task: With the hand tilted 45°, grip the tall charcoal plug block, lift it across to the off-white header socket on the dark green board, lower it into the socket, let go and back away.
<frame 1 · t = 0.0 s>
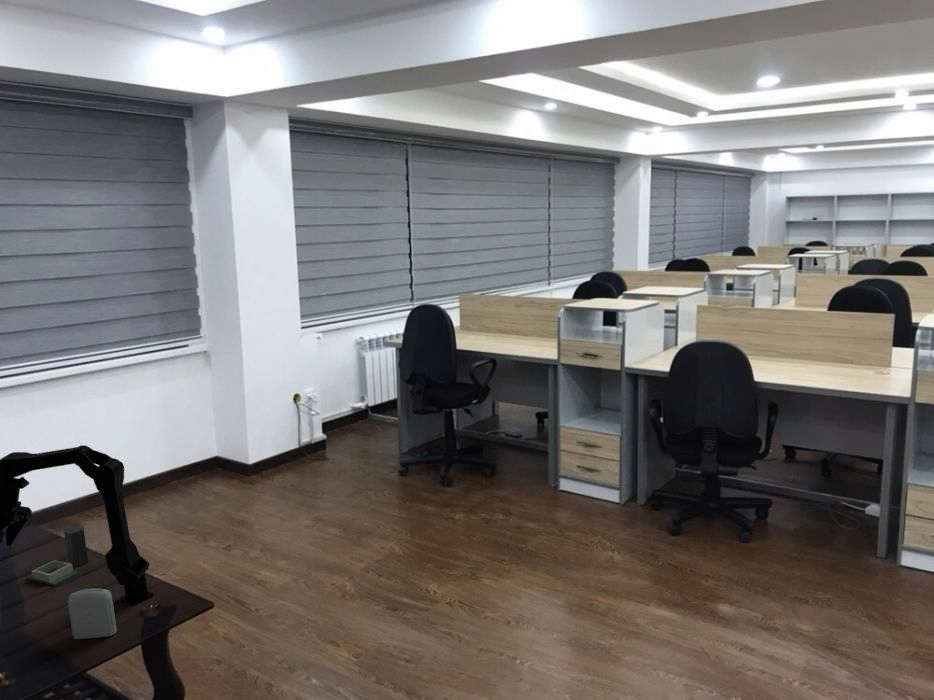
plug: (78, 563, 227), on the table
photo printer: (95, 635, 188), on the table
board: (53, 576, 220), on the table
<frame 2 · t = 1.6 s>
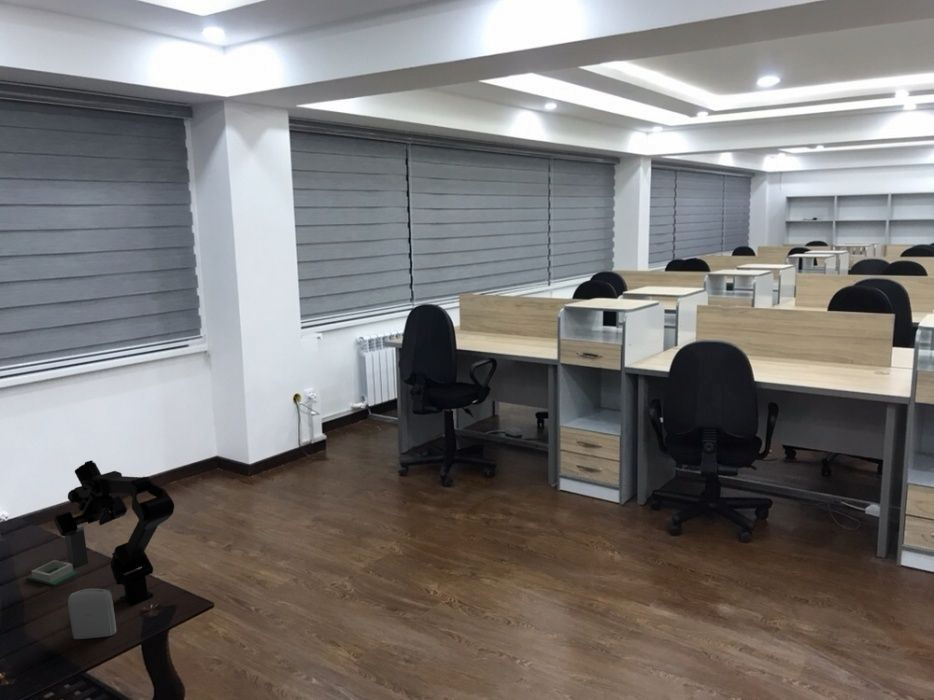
hand: (84, 529, 219), 13 cm above the table, tool tilted 45°, fingers open, 9 cm apart
nothing on the table moved.
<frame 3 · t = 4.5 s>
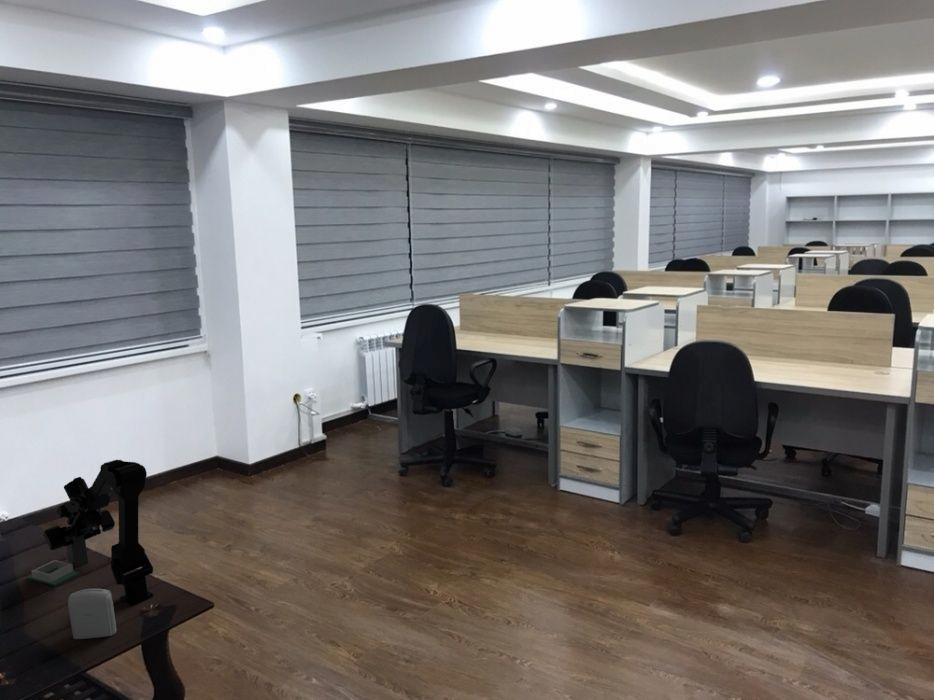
hand: (73, 542, 227), 7 cm above the table, tool tilted 45°, fingers closed on plug, 4 cm apart
plug: (78, 563, 227), on the table, touching gripper
everything else where it was.
when the fingers open (8 cm above the table, at t = 8.8 s): plug stays where it is, resting on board.
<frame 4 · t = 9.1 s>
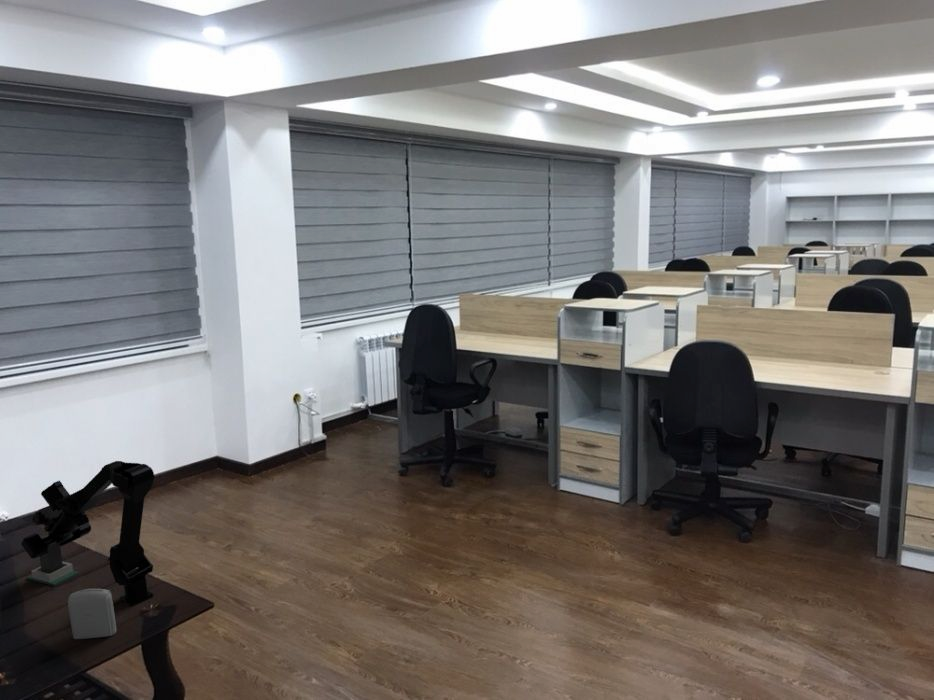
hand: (46, 551, 219), 8 cm above the table, tool tilted 45°, fingers open, 7 cm apart
plug: (53, 574, 219), point 1 cm above the table, touching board
everything else where it was.
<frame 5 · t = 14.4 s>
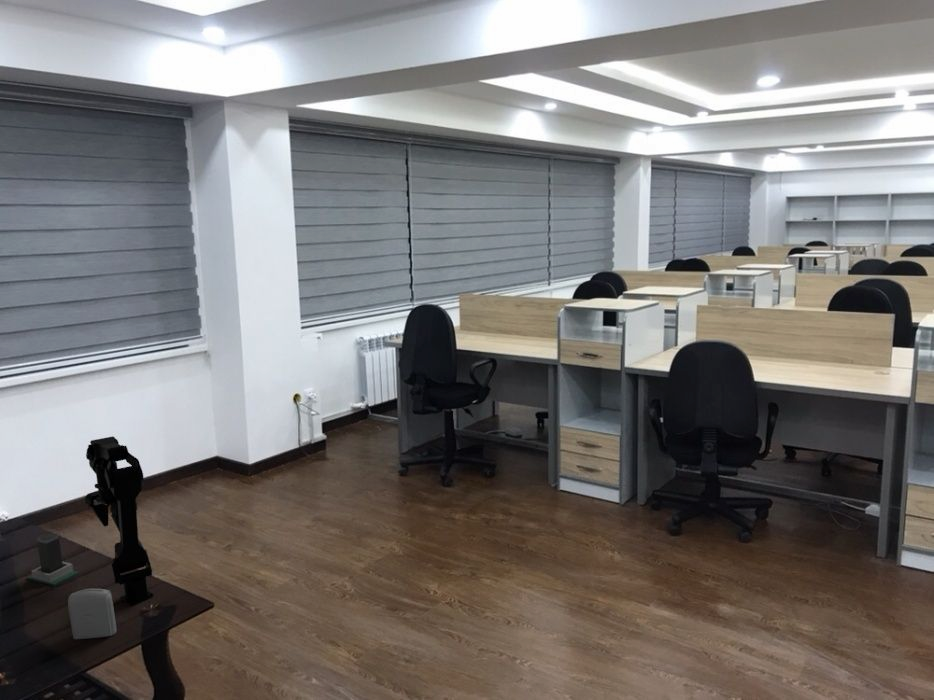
hand: (114, 529, 220), 13 cm above the table, tool pointing down, fingers open, 9 cm apart
nothing on the table moved.
at the end: plug 0.0 cm off-centre on the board, point 0.6 cm above the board's base; plug tilted 0°; the gripper is holding nothing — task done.
